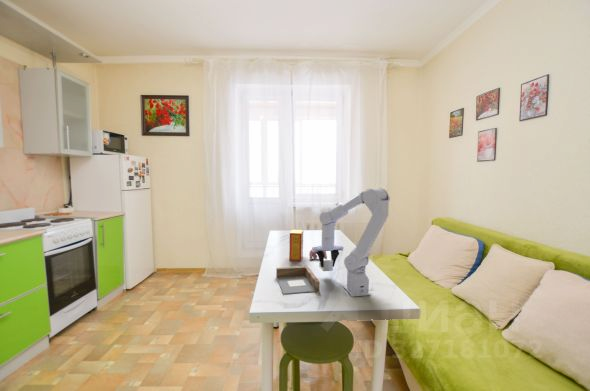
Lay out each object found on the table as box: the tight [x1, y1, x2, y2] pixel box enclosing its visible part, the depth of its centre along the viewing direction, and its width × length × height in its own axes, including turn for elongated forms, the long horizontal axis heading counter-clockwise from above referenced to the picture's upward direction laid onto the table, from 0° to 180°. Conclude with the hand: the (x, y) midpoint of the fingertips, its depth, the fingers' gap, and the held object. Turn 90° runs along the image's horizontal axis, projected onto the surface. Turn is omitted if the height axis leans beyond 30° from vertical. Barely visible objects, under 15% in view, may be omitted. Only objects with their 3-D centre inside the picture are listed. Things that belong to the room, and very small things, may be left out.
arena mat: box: [276, 276, 316, 295], centre depth 114 cm, size 18×15×1 cm
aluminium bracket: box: [318, 258, 334, 272], centre depth 120 cm, size 6×4×5 cm
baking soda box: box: [288, 229, 304, 262], centre depth 148 cm, size 10×6×16 cm
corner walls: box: [275, 265, 320, 293], centre depth 113 cm, size 18×15×4 cm
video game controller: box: [309, 249, 328, 261], centre depth 148 cm, size 10×5×7 cm, turn 92°
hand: (327, 266), depth 119 cm, fingers closed on aluminium bracket, 4 cm apart
